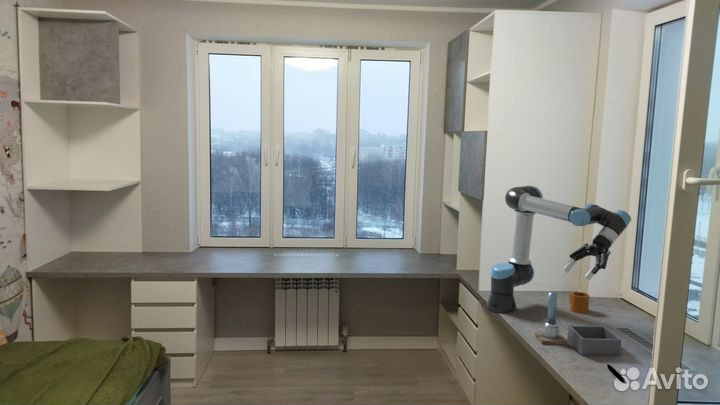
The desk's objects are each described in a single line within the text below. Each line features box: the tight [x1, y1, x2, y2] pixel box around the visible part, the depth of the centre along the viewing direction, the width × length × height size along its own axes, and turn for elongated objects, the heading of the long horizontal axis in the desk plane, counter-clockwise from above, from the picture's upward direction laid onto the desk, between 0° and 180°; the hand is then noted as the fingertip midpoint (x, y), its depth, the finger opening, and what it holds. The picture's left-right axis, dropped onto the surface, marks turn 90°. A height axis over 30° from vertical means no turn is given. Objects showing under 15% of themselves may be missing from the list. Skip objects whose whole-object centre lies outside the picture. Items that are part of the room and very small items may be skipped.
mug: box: [569, 291, 590, 314], centre depth 274 cm, size 9×12×9 cm
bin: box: [566, 325, 622, 357], centre depth 224 cm, size 16×16×7 cm
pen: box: [606, 363, 626, 383], centre depth 199 cm, size 2×14×2 cm, turn 179°
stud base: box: [534, 331, 569, 345], centre depth 233 cm, size 11×11×6 cm
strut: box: [543, 291, 560, 337], centre depth 232 cm, size 6×6×19 cm
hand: (576, 274), depth 233 cm, fingers open, 13 cm apart
